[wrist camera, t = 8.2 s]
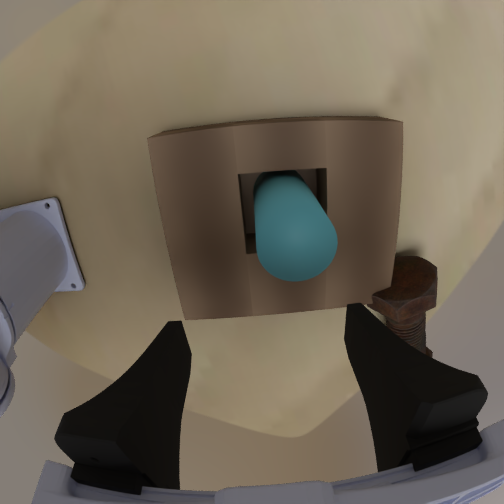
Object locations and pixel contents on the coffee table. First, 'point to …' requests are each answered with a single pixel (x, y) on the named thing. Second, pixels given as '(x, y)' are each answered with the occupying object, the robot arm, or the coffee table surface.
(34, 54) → the coffee table surface
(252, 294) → the bore block
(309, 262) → the pin
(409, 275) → the bolt
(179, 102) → the coffee table surface
